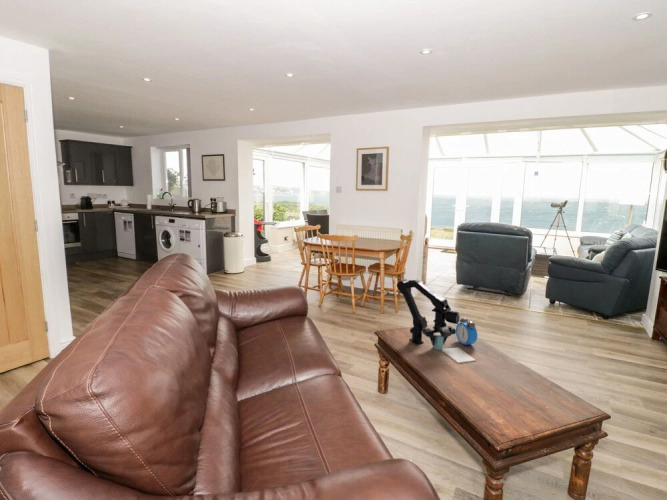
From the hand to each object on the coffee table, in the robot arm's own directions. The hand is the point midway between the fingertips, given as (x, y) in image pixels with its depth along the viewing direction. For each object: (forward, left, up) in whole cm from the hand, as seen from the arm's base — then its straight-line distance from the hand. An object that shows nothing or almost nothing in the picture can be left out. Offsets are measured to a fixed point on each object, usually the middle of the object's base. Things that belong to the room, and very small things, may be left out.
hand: (438, 345), depth 210 cm
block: (0, 0, -2) cm, 2 cm away
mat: (+11, +6, -2) cm, 13 cm away
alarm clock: (-2, +20, -2) cm, 20 cm away
